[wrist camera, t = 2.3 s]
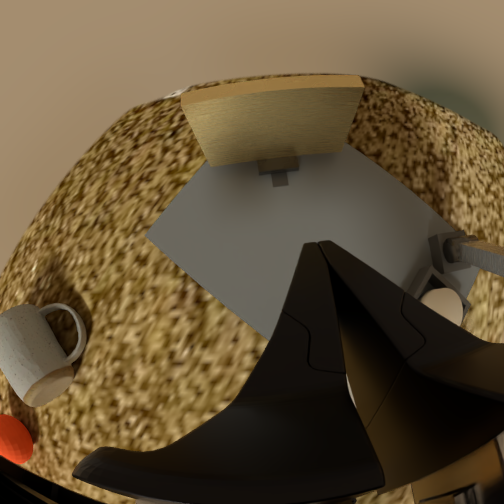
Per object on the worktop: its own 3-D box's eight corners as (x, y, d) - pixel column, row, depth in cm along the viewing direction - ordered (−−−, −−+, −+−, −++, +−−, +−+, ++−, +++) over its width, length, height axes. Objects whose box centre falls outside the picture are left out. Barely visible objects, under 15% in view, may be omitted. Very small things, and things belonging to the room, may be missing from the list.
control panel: (375, 412, 19) (392, 431, 15) (156, 242, 23) (133, 230, 19) (468, 263, 20) (495, 256, 16) (269, 114, 25) (267, 84, 21)
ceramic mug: (61, 402, 21) (14, 418, 14) (25, 344, 23) (-23, 347, 15) (107, 346, 22) (53, 356, 15) (64, 284, 24) (11, 274, 16)
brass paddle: (342, 166, 20) (370, 100, 12) (213, 182, 21) (180, 119, 13) (333, 135, 21) (353, 64, 13) (211, 149, 21) (181, 82, 13)
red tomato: (11, 435, 21) (-21, 445, 14) (5, 397, 22) (-30, 405, 15) (45, 464, 20) (13, 480, 13) (40, 426, 21) (2, 440, 14)
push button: (435, 347, 16) (446, 350, 15) (404, 321, 17) (414, 322, 15) (457, 306, 17) (469, 306, 15) (429, 279, 17) (440, 277, 16)
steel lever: (466, 258, 17) (547, 288, 8) (443, 263, 17) (527, 298, 8) (466, 230, 17) (551, 249, 8) (442, 234, 17) (532, 255, 8)
